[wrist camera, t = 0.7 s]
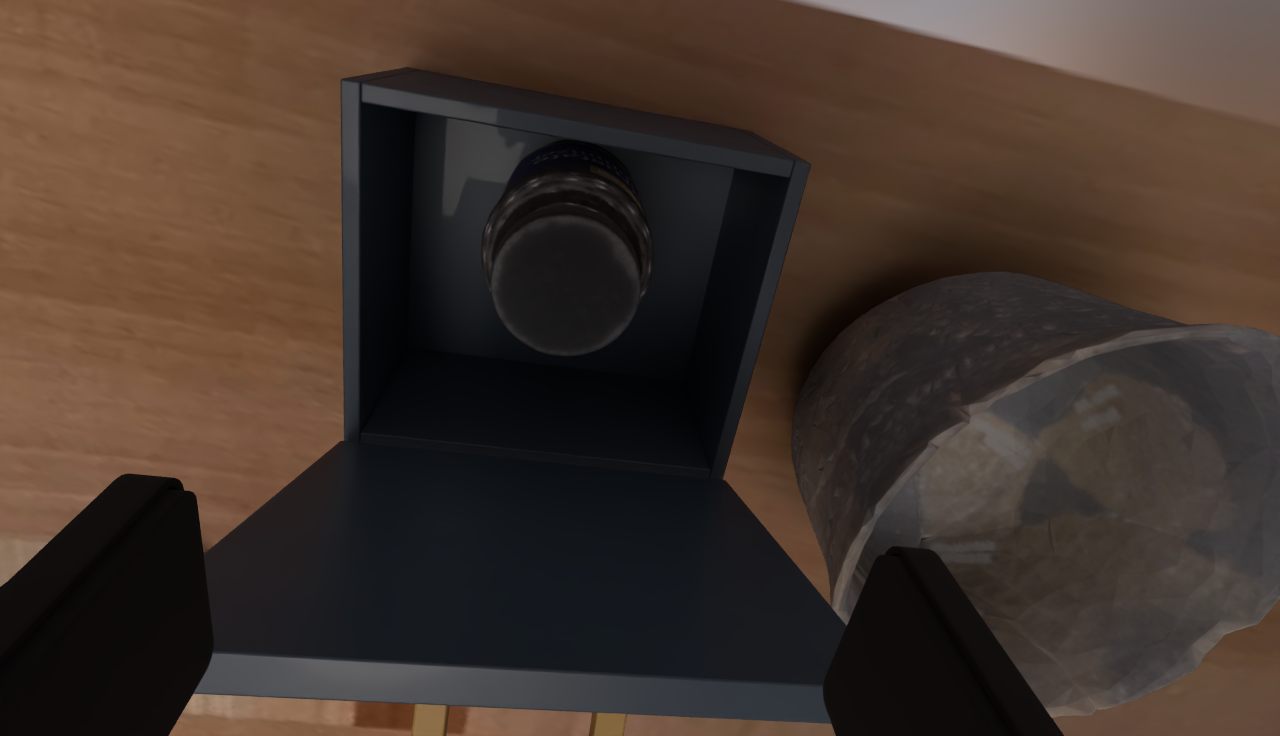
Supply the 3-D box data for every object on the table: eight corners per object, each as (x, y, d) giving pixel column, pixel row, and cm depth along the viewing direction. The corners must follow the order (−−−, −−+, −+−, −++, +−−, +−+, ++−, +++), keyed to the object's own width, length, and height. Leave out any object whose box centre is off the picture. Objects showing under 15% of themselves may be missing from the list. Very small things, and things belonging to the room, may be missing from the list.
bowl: (783, 188, 32) (935, 300, 18) (1119, 226, 34) (1475, 349, 20) (718, 495, 39) (791, 734, 26) (996, 509, 41) (1196, 735, 28)
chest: (405, 66, 28) (339, 78, 20) (752, 131, 30) (812, 163, 23) (397, 351, 34) (343, 444, 26) (691, 387, 36) (722, 483, 28)
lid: (92, 645, 12) (80, 912, 12) (901, 690, 14) (855, 912, 15) (340, 440, 25) (328, 571, 26) (726, 480, 28) (706, 599, 28)
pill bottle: (652, 155, 30) (689, 214, 20) (622, 284, 32) (642, 392, 22) (513, 123, 29) (479, 169, 19) (494, 258, 31) (455, 360, 21)
